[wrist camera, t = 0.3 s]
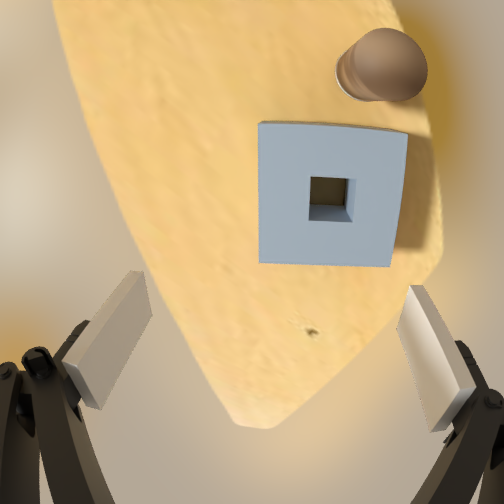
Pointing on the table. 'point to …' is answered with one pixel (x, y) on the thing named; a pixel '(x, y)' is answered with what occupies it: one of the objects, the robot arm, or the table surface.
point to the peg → (382, 67)
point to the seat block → (329, 216)
